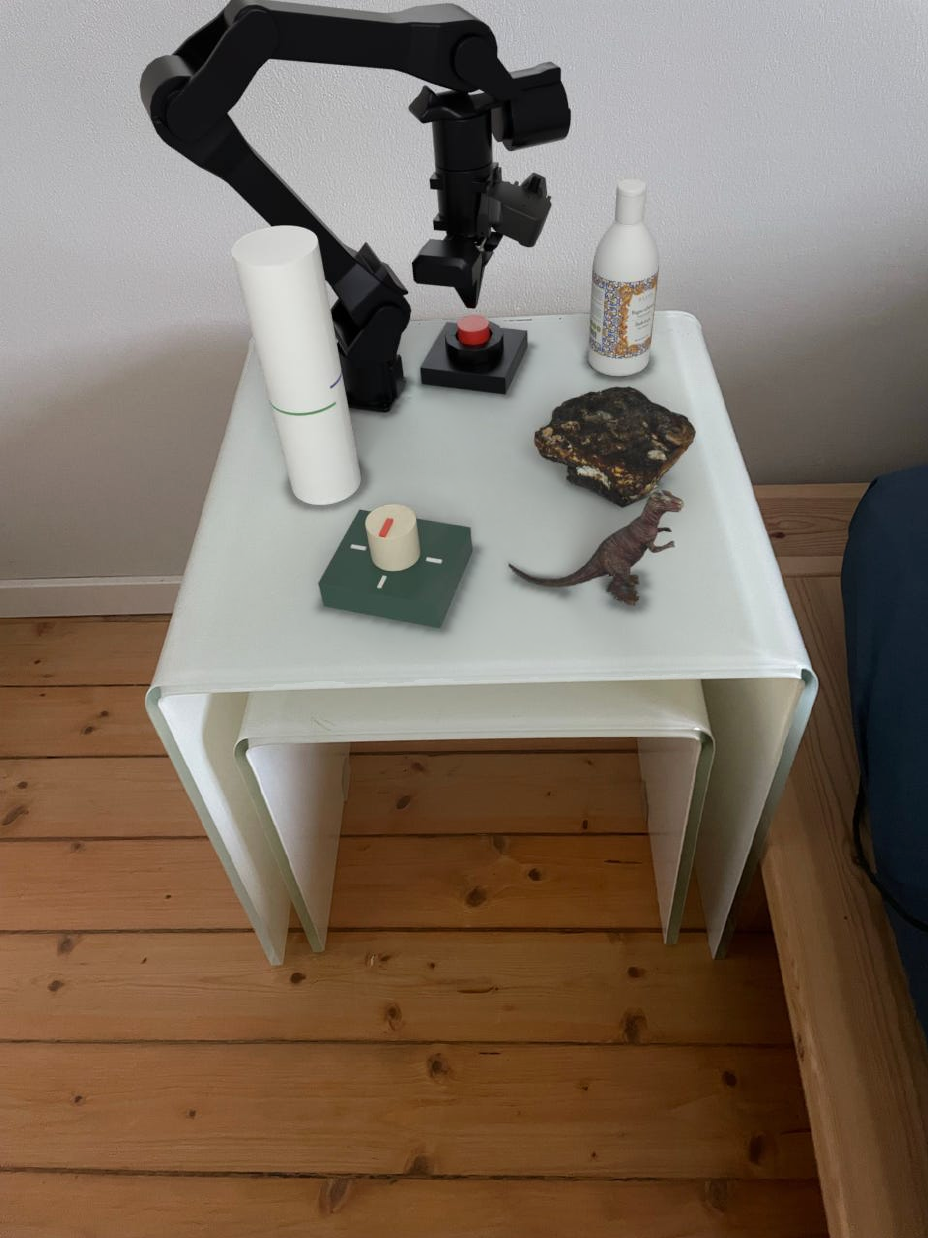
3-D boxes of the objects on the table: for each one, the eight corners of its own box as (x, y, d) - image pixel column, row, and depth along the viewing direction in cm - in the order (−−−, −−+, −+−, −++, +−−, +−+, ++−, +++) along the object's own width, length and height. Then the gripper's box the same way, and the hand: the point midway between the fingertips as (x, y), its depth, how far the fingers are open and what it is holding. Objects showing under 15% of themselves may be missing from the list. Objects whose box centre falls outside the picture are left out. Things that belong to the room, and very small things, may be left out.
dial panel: (323, 606, 82) (317, 581, 79) (363, 532, 88) (358, 507, 86) (439, 628, 79) (436, 603, 77) (472, 550, 86) (470, 525, 83)
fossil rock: (594, 409, 99) (597, 362, 95) (706, 456, 93) (714, 409, 88) (515, 476, 92) (514, 430, 88) (629, 532, 86) (634, 485, 82)
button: (454, 343, 103) (453, 329, 102) (463, 327, 105) (462, 313, 104) (484, 347, 102) (484, 333, 101) (493, 330, 104) (493, 316, 103)
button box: (421, 384, 104) (418, 353, 101) (447, 337, 111) (445, 307, 108) (505, 394, 102) (504, 363, 99) (527, 346, 108) (527, 316, 105)
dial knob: (381, 533, 83) (375, 497, 80) (426, 541, 82) (422, 505, 79) (364, 567, 81) (357, 531, 77) (411, 575, 80) (406, 538, 76)
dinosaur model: (685, 502, 70) (494, 499, 73) (676, 610, 79) (505, 604, 82) (684, 471, 73) (501, 469, 76) (677, 579, 81) (511, 574, 84)
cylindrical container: (373, 469, 95) (333, 232, 76) (338, 511, 90) (288, 272, 72) (314, 454, 97) (262, 220, 78) (278, 495, 93) (214, 258, 74)
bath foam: (614, 385, 102) (627, 206, 87) (575, 359, 106) (582, 182, 91) (661, 364, 104) (682, 185, 89) (622, 338, 108) (635, 163, 93)
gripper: (519, 207, 81) (521, 360, 93) (565, 127, 93) (561, 272, 105) (402, 198, 84) (418, 349, 96) (461, 122, 96) (469, 264, 107)
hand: (471, 306), depth 101 cm, fingers closed
